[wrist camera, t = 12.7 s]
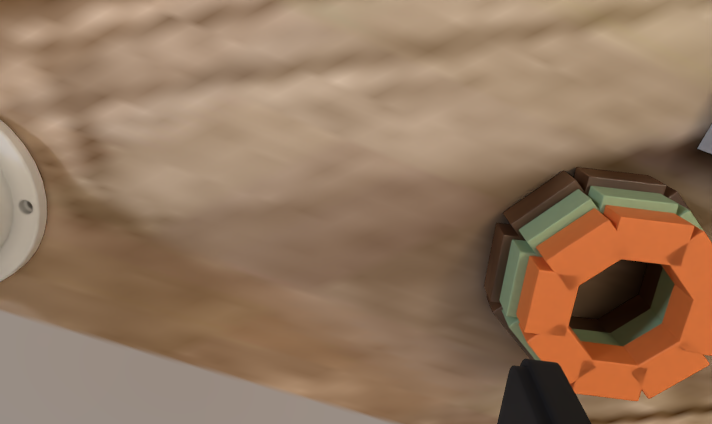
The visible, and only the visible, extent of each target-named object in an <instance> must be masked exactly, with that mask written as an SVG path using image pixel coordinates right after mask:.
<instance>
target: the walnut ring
mask: <svg viewBox="0 0 712 424" xmlns="http://www.w3.org/2000/svg"><path fill="white" fill-rule="evenodd" d="M591 186H599V187H607V188H616V189H624V190H633V191H642V192H650V193H659V194H662V195H664V196H665V197H667V198H669V199H671V200H673V201H675V202H676V203H678V204H680V205H681V206H683V207H685V208H687V209H688V210H689V208H688V207H687V205H686V204H685V202H684V201H683V199H682V198H681V196H680V195H679V193H678V192H677V191H675V190H673V189H672V188H670V187H668V186H666V185H665V184H663V183H661V182H660V181H658V180H656V179H654V178H652V177H650V176H648V175H640V174H632V173H623V172H614V171H606V170H597V169H589V168H580V167H576V170H575V175H574V178H573V177H572V176H570V175H569V174H568V173H566V172H565V171H562V172H561V173H559V174H558V175H556V176H555V177H554V178H552V179H551V180H549V181H548V182H546V183H545V184H544V185H542V186H541V187H539V188H538V189H536V190H535V191H534V192H532V193H531V194H529V195H528V196H526V197H525V198H524V199H522V200H521V201H519V202H518V203H516V204H515V205H514V206H512V207H511V208H509V209H508V210H506V211H505V212H504V213H503V214H504V215H505V217H506V218H507V220H508V221H509V223H510V224H502V223H496V227H495V232H494V237H493V242H492V247H491V252H490V257H489V263H488V268H487V273H486V278H485V283H484V287H485V290H486V292H487V295H488V296H487V299H488V301H489V304H490V307H491V309H492V312H493V313H494V315H495V316H496V317H497V318H498V320H499V321H500V322H501V323H502V325H503V326H504V327H505V328H506V330H507V331H508V332H509V333H510V335H511V336H512V337H513V338H514V339H515V341H516V342H517V343H518V344H519V346H520V347H521V348H522V349H523V351H524V352H525V353H526V354H527V356H528V357H529V358H530V359H532V360H535V359H534V358H533V357H532V355H531V354H530V353H529V352H528V350H527V349H526V348H525V347H524V345H523V344H522V343H521V342H520V340H519V339H518V338H517V337H516V335H515V334H514V333H513V332H512V330H511V329H510V328H509V327H508V324H507V322H506V320H505V317H504V315H503V313H502V310H503V307H502V305H501V303H500V300H499V299H500V295H501V290H502V285H503V280H504V275H505V271H506V266H507V261H508V256H509V251H510V247H511V242H512V240H513V239H514V240H523V241H526V240H525V239H524V237H523V236H522V234H521V233H520V231H519V229H520V228H522V227H523V226H525V225H526V224H528V223H529V222H531V221H532V220H533V219H535V218H536V217H538V216H539V215H541V214H542V213H544V212H545V211H547V210H548V209H550V208H551V207H552V206H554V205H555V204H557V203H558V202H560V201H561V200H563V199H564V198H566V197H567V196H568V195H570V194H571V193H573V192H574V191H576V190H577V189H579V190H581V191H582V192H583V193H584V194H586V195H587V196H588V194H589V190H590V187H591ZM662 268H663V267H662V266H661V264H656V263H648V264H647V268H646V271H645V275H644V278H643V281H642V285H641V288H640V292H639V294H638V295H637V296H635V297H633V298H632V299H630V300H629V301H627V302H625V303H624V304H622V305H621V306H619V307H617V308H616V309H614V310H613V311H611V312H609V313H608V314H606V315H604V316H603V317H601V318H600V319H598V320H596V319H587V318H579V317H571V318H570V322H569V326H570V327H571V328H572V329H581V330H589V331H597V332H606V333H611V332H613V331H615V330H616V329H618V328H620V327H621V326H623V325H624V324H626V323H628V322H629V321H631V320H633V319H634V318H636V317H638V316H639V315H641V314H643V313H644V312H646V311H647V310H649V309H650V308H651V305H652V301H653V298H654V295H655V292H656V288H657V285H658V282H659V278H660V275H661V272H662Z"/></svg>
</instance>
